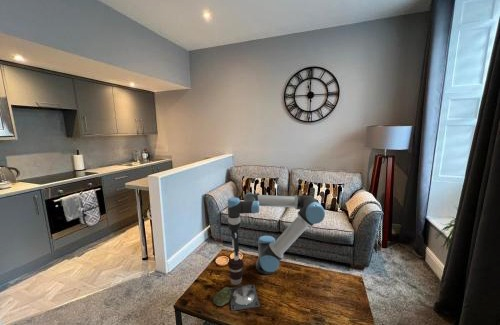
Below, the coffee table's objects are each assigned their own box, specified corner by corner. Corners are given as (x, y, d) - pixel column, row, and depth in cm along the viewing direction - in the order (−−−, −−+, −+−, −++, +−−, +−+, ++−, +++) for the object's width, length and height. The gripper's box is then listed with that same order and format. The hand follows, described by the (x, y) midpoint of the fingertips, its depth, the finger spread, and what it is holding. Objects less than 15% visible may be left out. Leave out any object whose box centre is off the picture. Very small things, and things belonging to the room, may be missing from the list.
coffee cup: (246, 280, 140) (246, 260, 137) (235, 289, 132) (235, 268, 130) (236, 273, 146) (236, 254, 144) (225, 281, 139) (224, 261, 136)
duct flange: (254, 285, 135) (254, 283, 135) (259, 306, 120) (259, 304, 120) (229, 289, 133) (229, 286, 132) (231, 311, 117) (231, 308, 117)
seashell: (209, 302, 121) (216, 283, 125) (213, 301, 127) (220, 283, 132) (225, 309, 118) (232, 289, 122) (228, 308, 124) (234, 289, 129)
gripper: (227, 214, 143) (228, 243, 147) (229, 232, 119) (231, 266, 123) (238, 213, 145) (238, 242, 148) (243, 231, 120) (244, 264, 124)
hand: (235, 253), depth 136 cm, fingers open, 13 cm apart
